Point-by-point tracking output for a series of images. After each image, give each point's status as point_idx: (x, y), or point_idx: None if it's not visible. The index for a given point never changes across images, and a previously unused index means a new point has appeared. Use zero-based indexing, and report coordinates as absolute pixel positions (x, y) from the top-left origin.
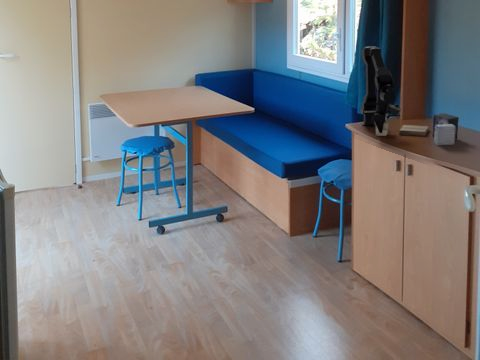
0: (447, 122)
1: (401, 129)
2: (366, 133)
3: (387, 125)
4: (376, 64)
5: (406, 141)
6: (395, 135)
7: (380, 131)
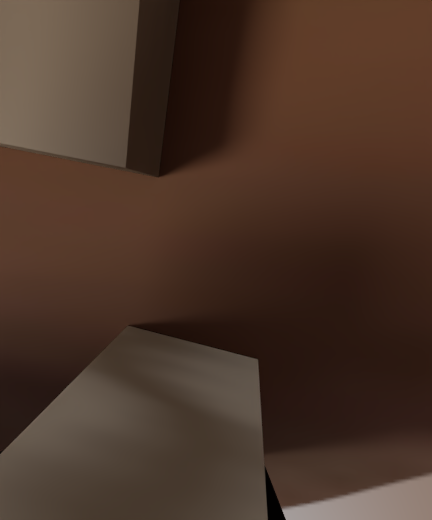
0: None
1: (44, 122)
2: None
3: (111, 480)
4: None
5: None
6: (222, 236)
7: None
